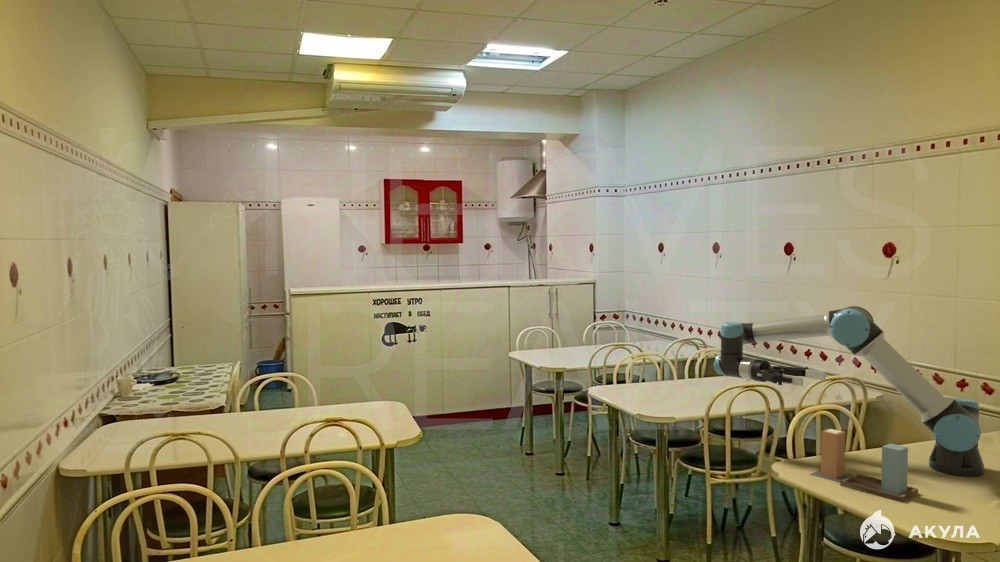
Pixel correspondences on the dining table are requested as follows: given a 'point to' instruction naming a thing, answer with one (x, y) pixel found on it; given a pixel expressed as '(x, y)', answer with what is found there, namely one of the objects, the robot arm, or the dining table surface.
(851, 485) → the tray
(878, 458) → the dining table surface
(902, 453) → the slate box
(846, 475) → the mat
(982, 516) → the dining table surface
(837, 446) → the rust box
